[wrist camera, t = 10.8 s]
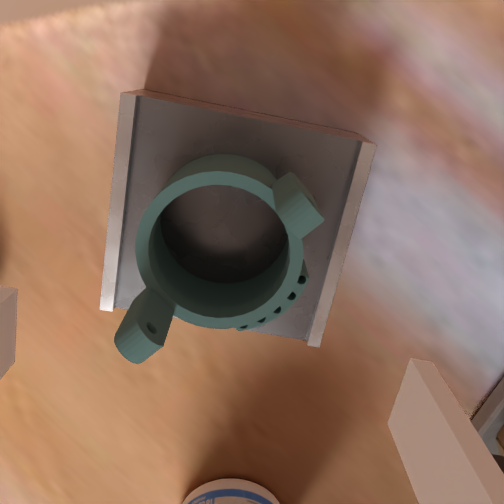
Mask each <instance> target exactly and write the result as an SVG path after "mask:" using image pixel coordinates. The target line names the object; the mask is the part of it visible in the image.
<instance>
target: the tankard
mask: <svg viewBox="0 0 504 504" xmlns="http://www.w3.org/2000/svg"><path fill="white" fill-rule="evenodd" d="M471 423H472V425H473V426H474V428H475V429H476V431H477V433H478V434H479V436H480V437H481V439H482V440H483V442H484V444H485V445H486V447H487V448H488V450H489V452H490V453H491V454H495V455H501V456H503V457H504V377H503V378H502V380H501V381H500V382H499V384H498V385H497V387H496V388H495V389H494V391H493V392H492V393H491V395H490V396H489V397H488V399H487V400H486V402H485V403H484V404H483V406H482V407H481V408H480V410H479V411H478V412H477V414H476V415H475V417H474V418H473V419H472V421H471Z"/></svg>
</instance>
